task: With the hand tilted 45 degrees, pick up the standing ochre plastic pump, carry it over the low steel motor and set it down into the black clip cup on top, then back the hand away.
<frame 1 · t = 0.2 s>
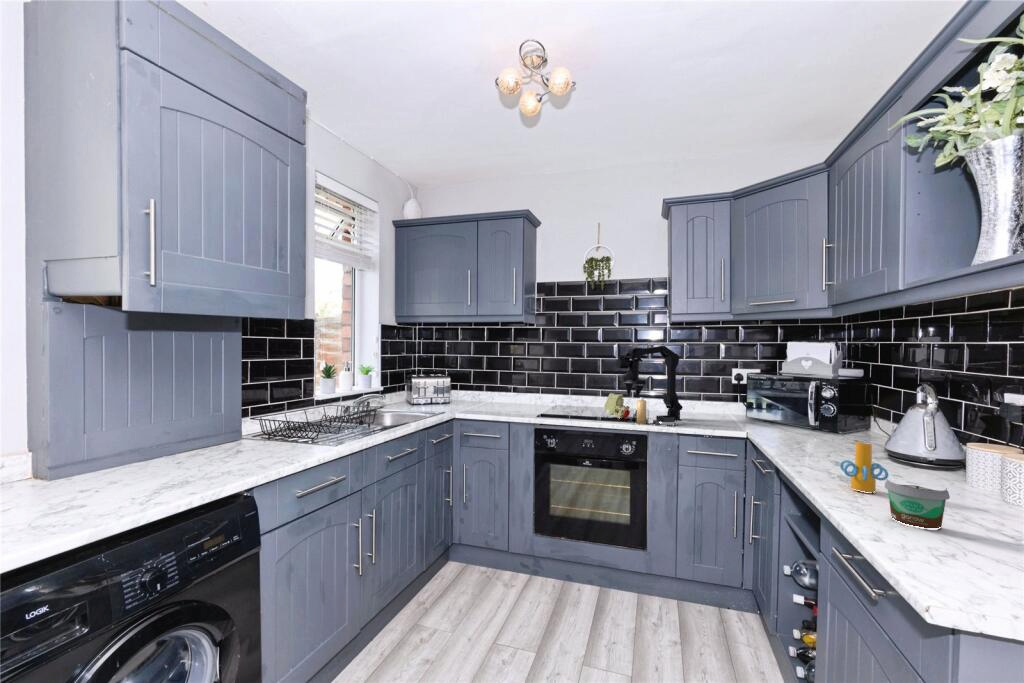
hand: (632, 395, 256), 15 cm above the countertop, tool pointing down, fingers open, 9 cm apart
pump: (641, 423, 248), on the countertop
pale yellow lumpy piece: (620, 419, 264), on the countertop
food container: (916, 527, 110), on the countertop
motor: (665, 424, 246), on the countertop
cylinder: (862, 491, 136), on the countertop
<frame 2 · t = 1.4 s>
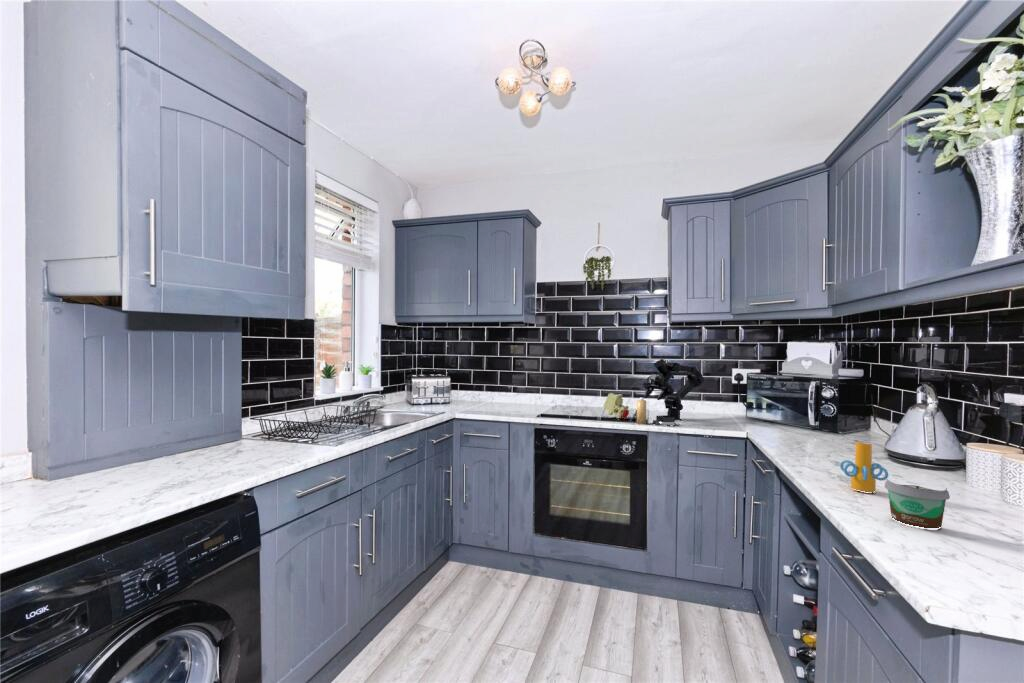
hand: (651, 398, 252), 14 cm above the countertop, tool tilted 45°, fingers open, 9 cm apart
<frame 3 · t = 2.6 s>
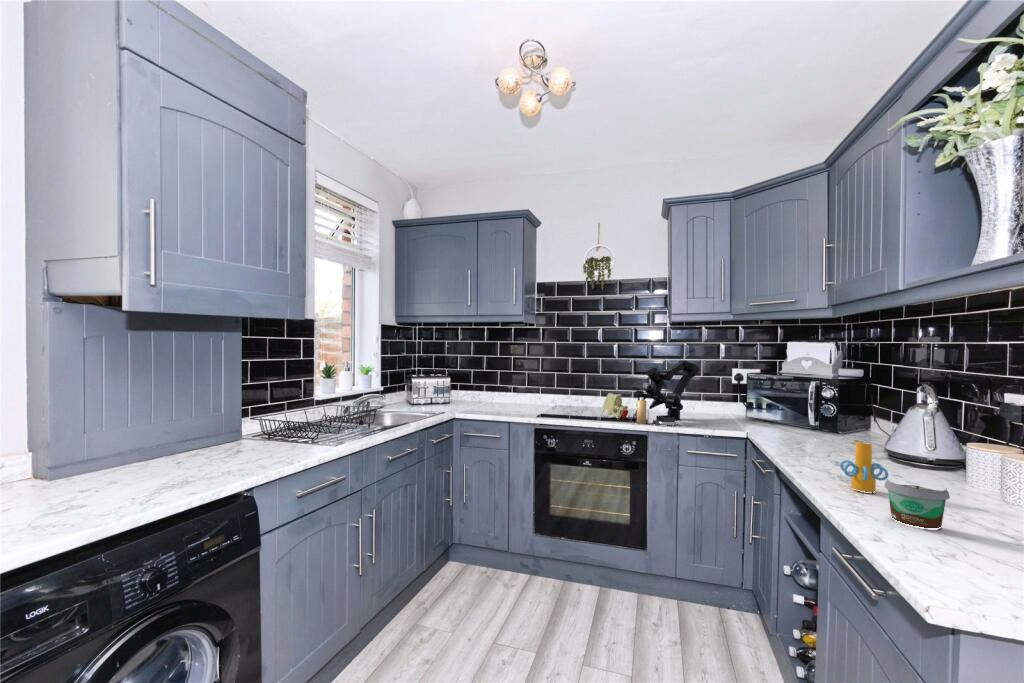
hand: (643, 407, 249), 9 cm above the countertop, tool tilted 45°, fingers open, 9 cm apart
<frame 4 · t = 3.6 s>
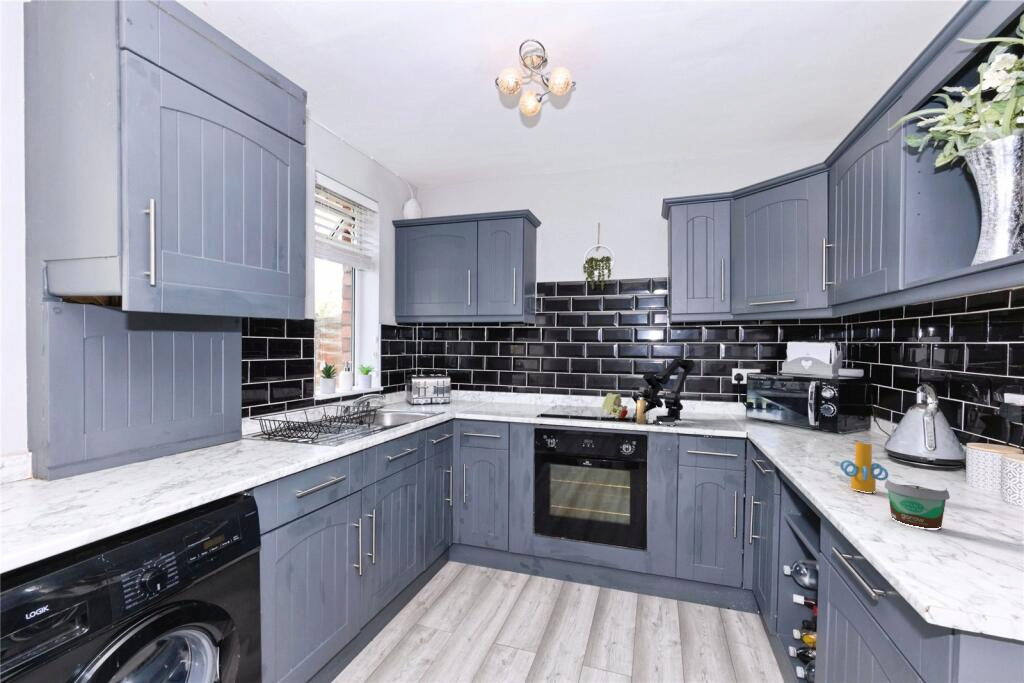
hand: (639, 412, 247), 7 cm above the countertop, tool tilted 45°, fingers closed on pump, 5 cm apart
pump: (641, 423, 248), on the countertop, touching gripper
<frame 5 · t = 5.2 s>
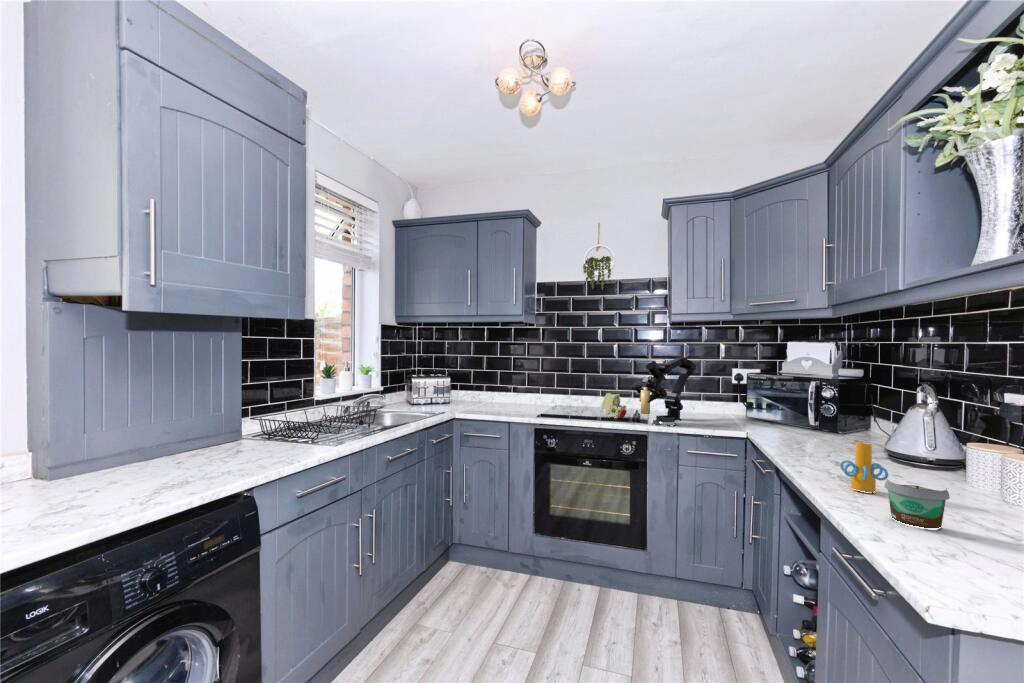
hand: (643, 401, 247), 12 cm above the countertop, tool tilted 45°, fingers closed on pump, 5 cm apart
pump: (645, 413, 247), point 6 cm above the countertop, touching gripper
when the fingers open (10 cm above the countertop, at t = 7.1 s): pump drops 1 cm, resting on motor.
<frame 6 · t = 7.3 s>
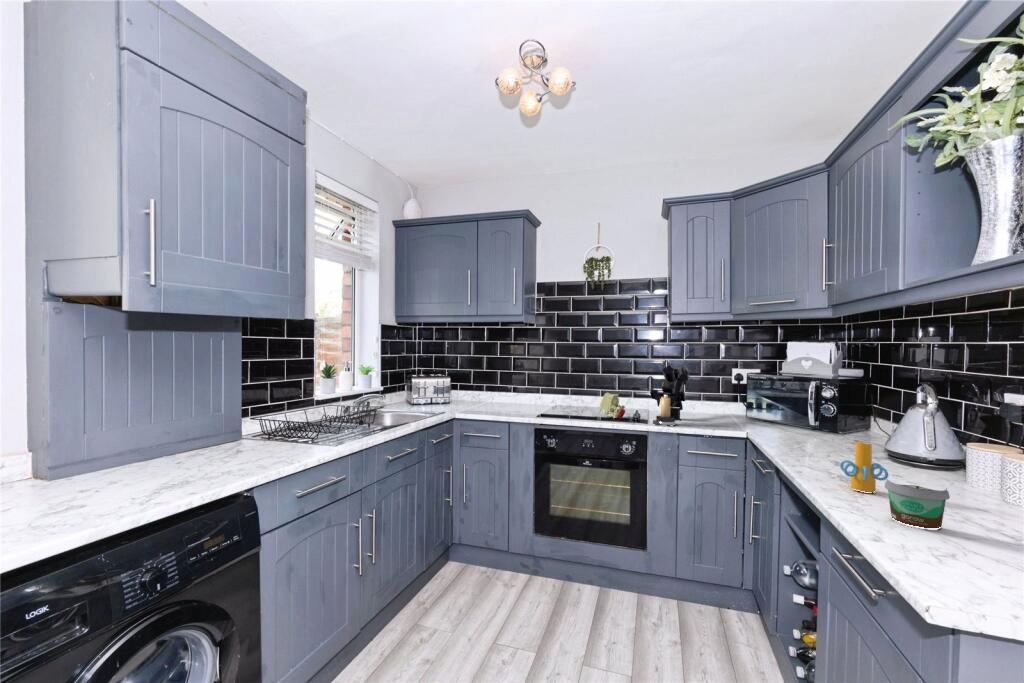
hand: (664, 406, 245), 10 cm above the countertop, tool tilted 45°, fingers open, 7 cm apart
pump: (665, 420, 246), point 2 cm above the countertop, touching motor
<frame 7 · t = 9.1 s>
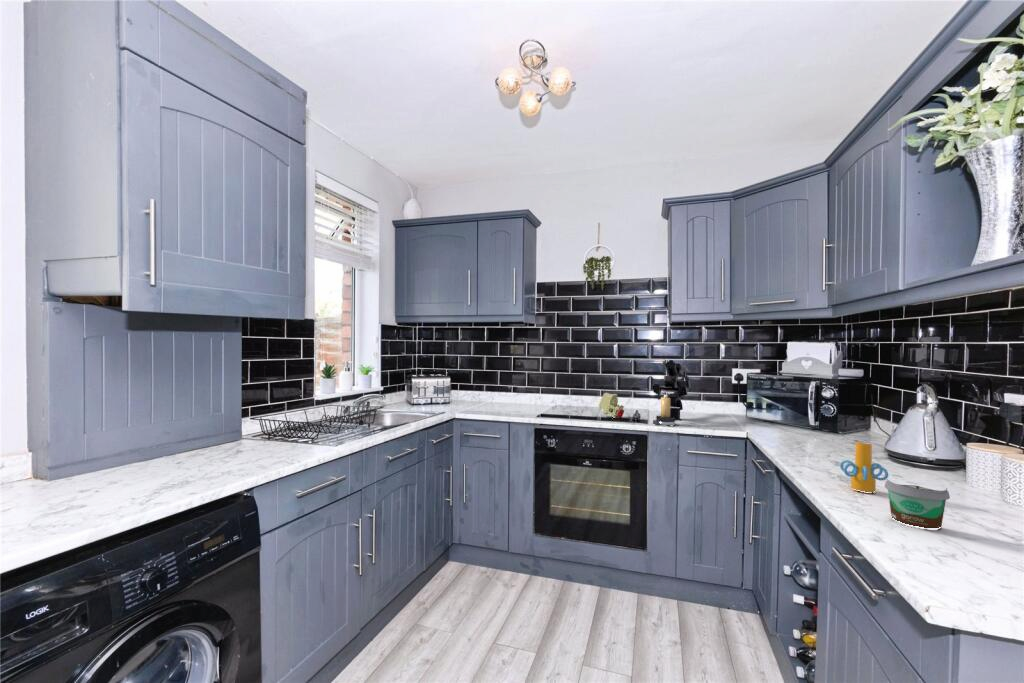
hand: (666, 400, 249), 13 cm above the countertop, tool tilted 45°, fingers open, 9 cm apart
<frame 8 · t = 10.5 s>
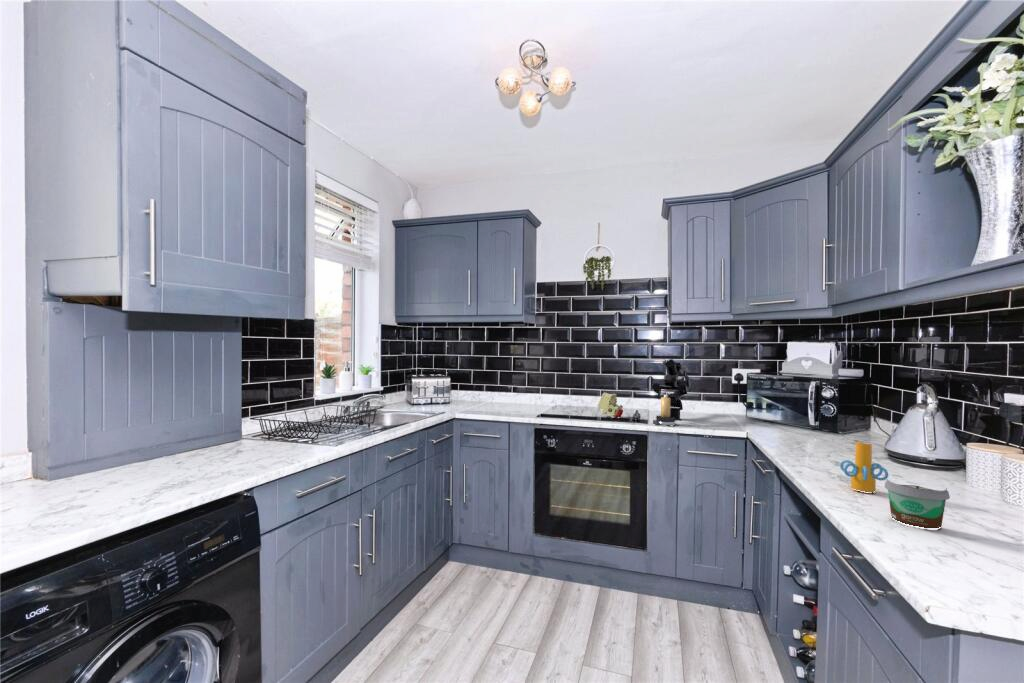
hand: (667, 399, 249), 14 cm above the countertop, tool tilted 45°, fingers open, 9 cm apart
at the end: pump 0.1 cm off-centre on the motor, point 2.0 cm above the motor's base; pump tilted 0°; the gripper is holding nothing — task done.
